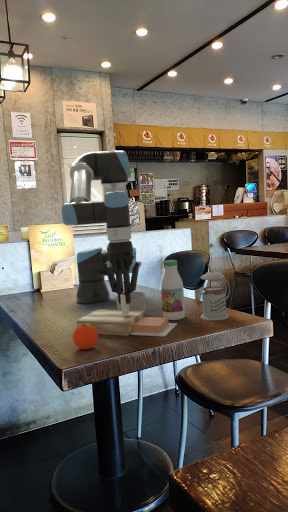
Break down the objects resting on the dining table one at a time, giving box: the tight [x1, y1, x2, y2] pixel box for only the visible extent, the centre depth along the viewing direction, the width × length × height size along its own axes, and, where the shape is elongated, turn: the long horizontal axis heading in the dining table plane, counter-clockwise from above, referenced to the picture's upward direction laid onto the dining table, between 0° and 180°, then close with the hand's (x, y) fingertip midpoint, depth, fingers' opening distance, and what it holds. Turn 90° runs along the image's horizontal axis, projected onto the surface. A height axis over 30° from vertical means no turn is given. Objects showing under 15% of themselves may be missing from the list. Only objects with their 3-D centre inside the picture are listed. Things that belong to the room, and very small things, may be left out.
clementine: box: [72, 323, 99, 350], centre depth 104 cm, size 8×7×7 cm
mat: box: [130, 322, 178, 337], centre depth 117 cm, size 12×11×1 cm
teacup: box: [115, 291, 147, 311], centre depth 137 cm, size 14×11×8 cm
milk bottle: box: [160, 259, 186, 321], centre depth 128 cm, size 8×8×20 cm
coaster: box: [132, 316, 170, 333], centre depth 117 cm, size 9×9×2 cm
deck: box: [75, 309, 146, 336], centre depth 122 cm, size 14×18×4 cm
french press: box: [199, 243, 231, 321], centre depth 126 cm, size 10×12×25 cm
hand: (125, 313), depth 120 cm, fingers closed
